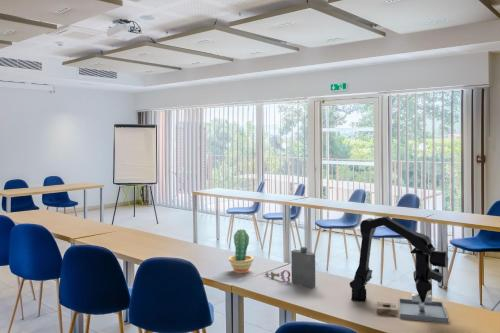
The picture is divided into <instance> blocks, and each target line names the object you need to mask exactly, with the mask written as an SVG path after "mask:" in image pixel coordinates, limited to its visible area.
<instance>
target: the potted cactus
mask: <svg viewBox="0 0 500 333" xmlns="http://www.w3.org/2000/svg"><path fill="white" fill-rule="evenodd" d="M233 242H234V243H233V244H234V248H235V252H234V253H235V254H234V255H231V256H229V257H228V262H229V263H230V266H231V268H232V269H233V272H234V273H236V274H246V273H249V269H250V268H251V266H252V262H254V260H255V259H254V256H253V255H250V254H247V251H248V250H247V249H248V246H249V244H250V236H249V234H248V233H247V231H246V229H244V228H242V229H241V228H240V229H237V230H236V231H235V233H234V234H233Z"/></svg>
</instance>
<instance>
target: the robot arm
mask: <svg viewBox="0 0 500 333" xmlns="http://www.w3.org/2000/svg"><path fill="white" fill-rule="evenodd" d="M382 226H383V227H386V228H387V229H389V230H391V231H393V232H394V233H395V234H398V235H399V236H400V237H403V238H404V239H406V240H407V241H408V242H409V243H410V244H411V245H412V246H413V247H414V248H413V249H412V250H411V251H410V252H409V253H410V254H415V258H414V259H415V261H414V262H415V263H414V267H415V268H414V271H413V272H412V274H413V281H414V282H415V289H416V291H417V294H419V297H420V299H421V302H425V298H426V295H428V292H430V291H431V290H432V289H433V287H432V286H433V284H432V282H431V280H433V281H435V282H437V283H439V284H441V283H442V281H443V279H444V275H443V273H442V272H441V271H440V269H439V268H444V269H445V268H446V269H447V268H448V266H449V256H448V252H447V251H446V250H436V248H435V246H434V245H433V244H432V243H431V238H430V237H429V236H428V235H426V234H424V233H421V232H417V231H414V230H411V228H410V229H409V228H408V227H406V226H404V225H402V223H400V222H397V221H396V220H394V219H392V218H390V217H389V216H388V215H384V216H381V217H378V218H371V217H370V218H366V219H364V220H362V221H361V222H360V223H359V230H360V235H361V244H360V252H359V262H358V267H357V269H356V271H355V273H354V277H353V280H352V281H350V282H349V287H350V289H351V298H350V300H351V301H358V302H366V300H367V288H366V285H367V284H368V282H370V281H371V279H373V276H372V274H373V270H372V269H370V257H371V249H372V242H373V236H374V234H375V232H376V229H377V228H378V227H382ZM430 265H432V266H433V267H435V268H433V269H432V268H431V267H430ZM437 267H439V268H437Z"/></svg>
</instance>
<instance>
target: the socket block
mask: <svg viewBox="0 0 500 333" xmlns="http://www.w3.org/2000/svg"><path fill="white" fill-rule="evenodd" d="M376 303H377V309H376V312H377V315H383V316H384V315H387V316H397V304H396V303H394V302H393V303H392V302H385V301H383V302H382V301H381V302H380V301H377V302H376Z"/></svg>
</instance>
